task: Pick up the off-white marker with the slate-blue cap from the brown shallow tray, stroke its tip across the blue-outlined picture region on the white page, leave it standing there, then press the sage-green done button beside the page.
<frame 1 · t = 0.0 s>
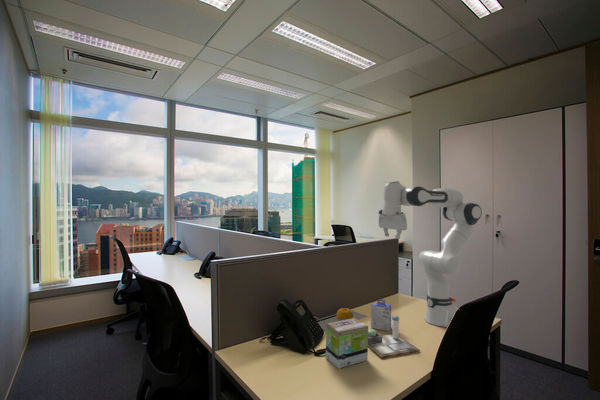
hand: (392, 237, 153), 48 cm above the table, fingers open, 8 cm apart
ink cartridge box: (381, 328, 152), on the table
done button: (371, 333, 135), point 4 cm above the table, slide at 0.0 cm
apple: (344, 325, 155), on the table
brown shallow tray: (388, 345, 132), on the table
marker: (395, 338, 137), point 1 cm above the table, touching brown shallow tray
tea box: (346, 359, 120), on the table
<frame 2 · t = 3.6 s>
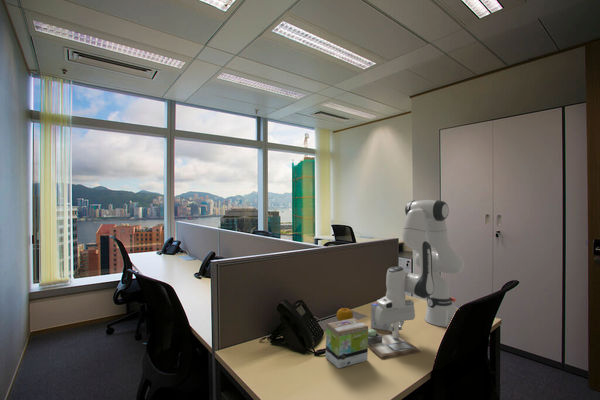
hand: (395, 330, 137), 5 cm above the table, fingers closed on marker, 3 cm apart
marker: (395, 338, 137), point 1 cm above the table, touching brown shallow tray, gripper
everything else where it was.
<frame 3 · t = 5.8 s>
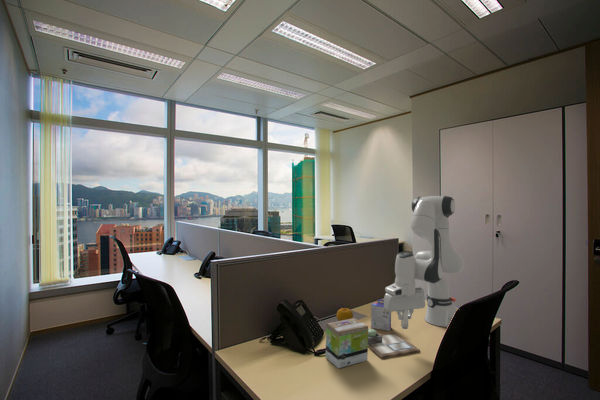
hand: (404, 319, 130), 13 cm above the table, fingers closed on marker, 3 cm apart
marker: (404, 327, 130), point 9 cm above the table, touching gripper
everything else where it was.
when the fingers open (5 cm above the table, at t = 8.3 s): marker stays where it is, resting on brown shallow tray.
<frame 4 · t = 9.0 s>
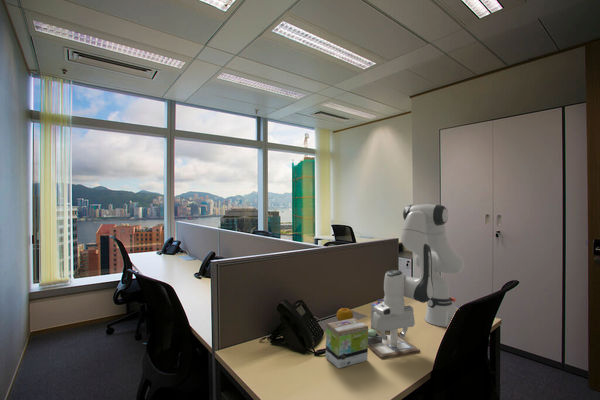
hand: (393, 338, 129), 5 cm above the table, fingers open, 8 cm apart
marker: (393, 347, 129), point 1 cm above the table, touching brown shallow tray
everything else where it was.
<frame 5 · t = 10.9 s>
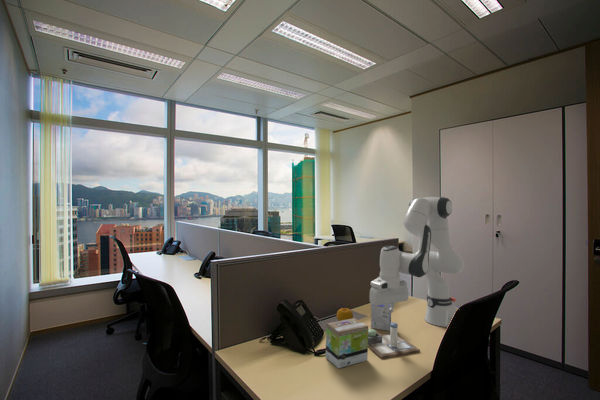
hand: (389, 312, 130), 16 cm above the table, fingers closed
nothing on the table moved.
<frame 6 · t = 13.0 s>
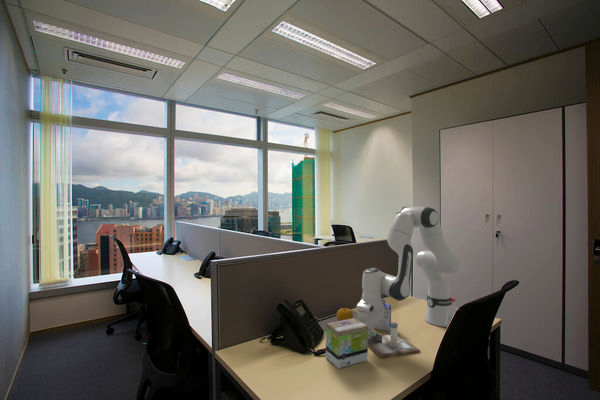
hand: (371, 332, 135), 5 cm above the table, fingers closed, pressing on done button
done button: (371, 335, 135), point 3 cm above the table, slide at 0.8 cm, touching gripper
everything else where it was.
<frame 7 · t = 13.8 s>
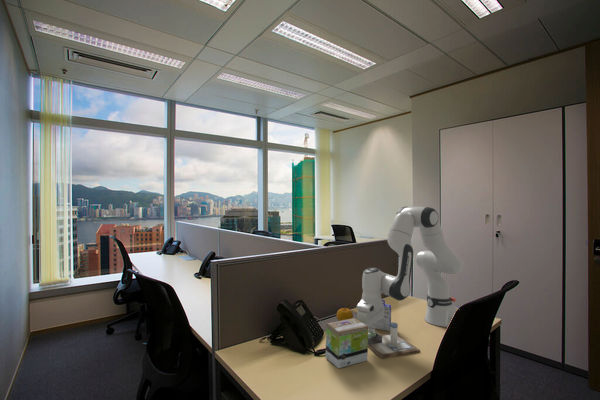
hand: (371, 332, 136), 5 cm above the table, fingers closed
done button: (371, 336, 135), point 3 cm above the table, slide at 1.1 cm
everything else where it was.
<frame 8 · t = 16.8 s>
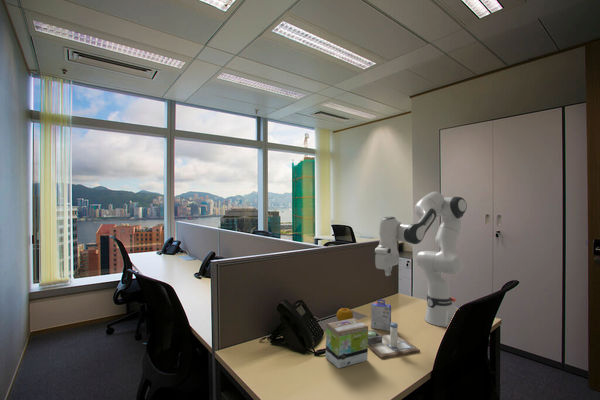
hand: (388, 275, 147), 29 cm above the table, fingers closed
nothing on the table moved.
at the end: done button slide at 1.1 cm; marker inside the target area (2.5 cm from its centre), point 1.2 cm above the table; the gripper is holding nothing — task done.
